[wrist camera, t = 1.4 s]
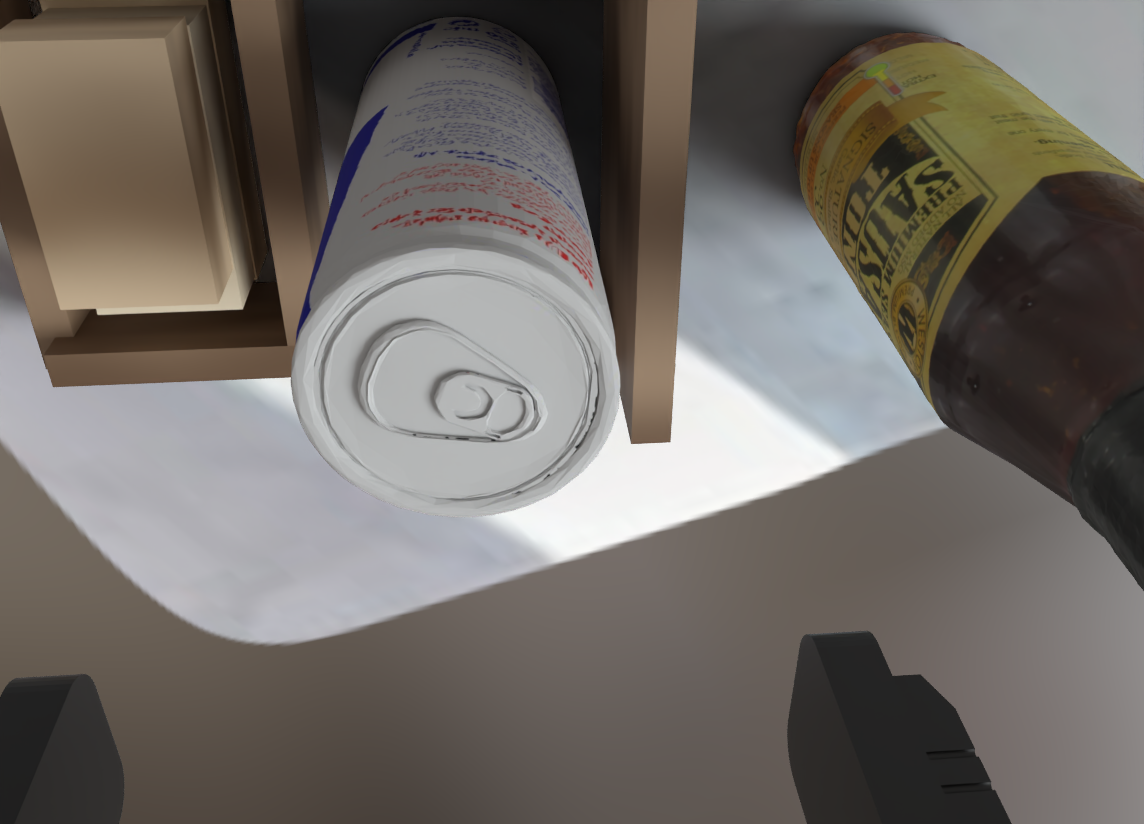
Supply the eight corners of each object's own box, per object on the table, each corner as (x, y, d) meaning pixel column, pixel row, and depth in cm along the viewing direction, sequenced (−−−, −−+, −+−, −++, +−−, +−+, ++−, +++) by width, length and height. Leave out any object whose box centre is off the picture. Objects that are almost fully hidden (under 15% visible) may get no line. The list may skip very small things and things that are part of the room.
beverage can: (333, 38, 29) (232, 287, 17) (536, -10, 29) (589, 207, 16) (394, 226, 32) (347, 556, 20) (577, 184, 32) (649, 492, 19)
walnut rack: (-45, -115, 26) (-219, -55, 20) (644, -123, 27) (701, -68, 21) (78, 318, 33) (-21, 473, 26) (630, 298, 34) (670, 442, 27)
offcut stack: (61, -31, 28) (-28, 27, 23) (219, -33, 28) (166, 23, 23) (131, 254, 32) (69, 355, 27) (267, 250, 32) (231, 349, 27)
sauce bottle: (786, 34, 30) (1182, 437, 13) (1007, 12, 30) (1668, 383, 14) (779, 249, 34) (1084, 777, 17) (976, 228, 34) (1469, 731, 17)
